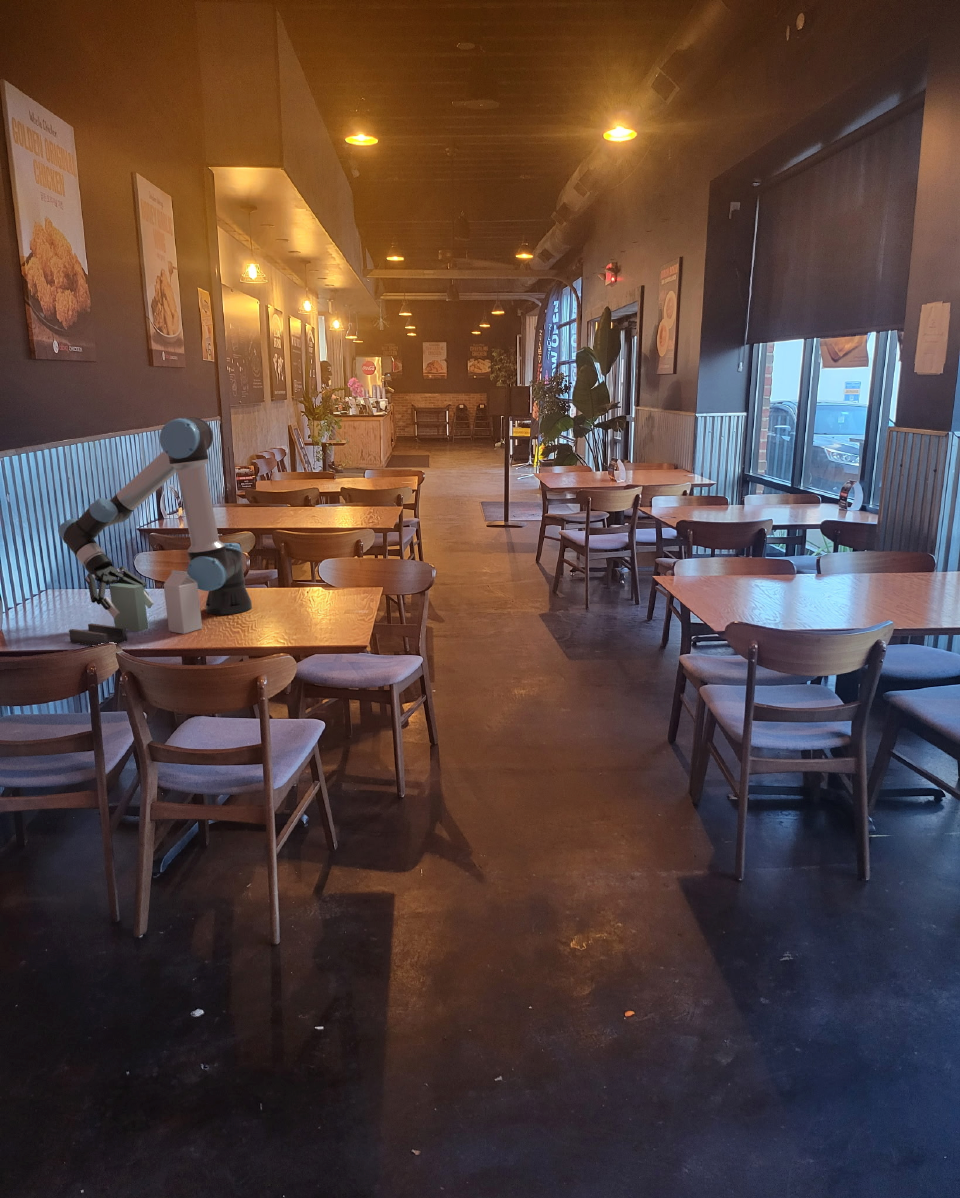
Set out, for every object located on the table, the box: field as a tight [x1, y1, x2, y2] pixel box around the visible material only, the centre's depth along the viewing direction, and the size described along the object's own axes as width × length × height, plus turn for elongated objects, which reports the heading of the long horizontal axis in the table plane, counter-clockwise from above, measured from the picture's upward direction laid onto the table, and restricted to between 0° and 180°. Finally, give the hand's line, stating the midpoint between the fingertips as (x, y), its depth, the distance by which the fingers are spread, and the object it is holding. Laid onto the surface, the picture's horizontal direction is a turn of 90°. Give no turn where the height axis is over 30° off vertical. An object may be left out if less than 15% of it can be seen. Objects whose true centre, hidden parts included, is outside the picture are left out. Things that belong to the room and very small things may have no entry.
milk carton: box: [163, 569, 203, 635], centre depth 263 cm, size 7×7×19 cm
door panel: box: [108, 583, 149, 633], centre depth 268 cm, size 11×4×14 cm, turn 63°
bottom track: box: [68, 623, 128, 647], centre depth 255 cm, size 15×8×4 cm, turn 63°
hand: (134, 610), depth 267 cm, fingers open, 13 cm apart
